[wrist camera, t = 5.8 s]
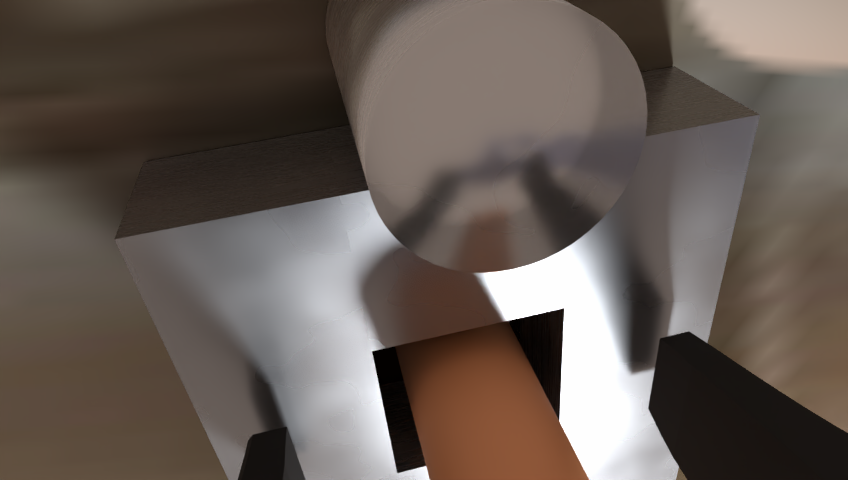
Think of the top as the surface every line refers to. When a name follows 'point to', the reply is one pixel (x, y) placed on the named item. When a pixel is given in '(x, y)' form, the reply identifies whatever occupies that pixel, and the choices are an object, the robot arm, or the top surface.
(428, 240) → the slotted grey box
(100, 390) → the top surface
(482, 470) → the sausage
